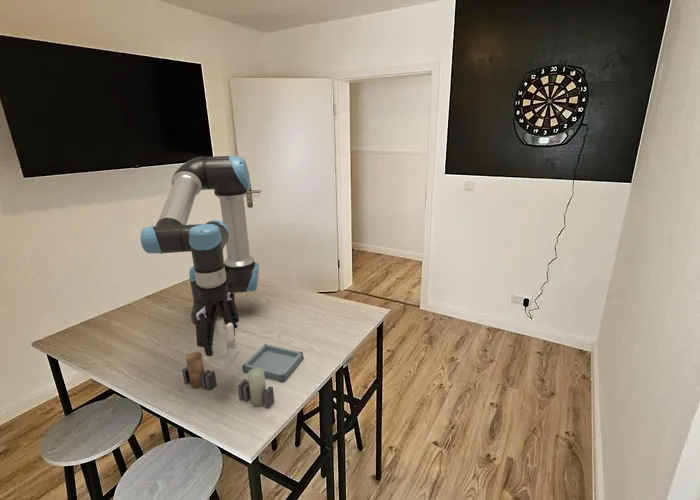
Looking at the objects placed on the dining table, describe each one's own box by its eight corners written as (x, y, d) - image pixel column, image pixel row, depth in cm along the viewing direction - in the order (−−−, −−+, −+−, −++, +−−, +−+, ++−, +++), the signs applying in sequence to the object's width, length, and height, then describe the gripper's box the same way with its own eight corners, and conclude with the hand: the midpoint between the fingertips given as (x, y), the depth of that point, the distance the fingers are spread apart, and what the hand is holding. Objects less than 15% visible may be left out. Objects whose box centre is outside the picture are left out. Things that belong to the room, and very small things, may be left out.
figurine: (220, 353, 111) (213, 309, 106) (245, 361, 107) (239, 316, 102) (202, 367, 104) (194, 321, 99) (228, 376, 101) (221, 329, 96)
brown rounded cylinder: (187, 386, 111) (182, 358, 108) (198, 377, 115) (193, 350, 112) (199, 390, 110) (194, 362, 106) (209, 380, 114) (204, 353, 110)
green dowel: (248, 404, 104) (244, 375, 100) (257, 394, 108) (253, 366, 104) (261, 408, 102) (258, 379, 99) (270, 398, 106) (267, 369, 103)
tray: (243, 371, 118) (242, 365, 117) (265, 349, 129) (265, 343, 128) (283, 382, 112) (283, 375, 112) (303, 358, 124) (303, 352, 123)
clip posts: (184, 383, 112) (181, 370, 111) (191, 377, 115) (189, 364, 113) (268, 408, 102) (267, 394, 101) (274, 401, 105) (272, 387, 103)
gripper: (195, 301, 87) (208, 380, 95) (246, 270, 105) (254, 339, 112) (171, 296, 89) (186, 373, 97) (225, 267, 107) (234, 334, 115)
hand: (222, 355), depth 105 cm, fingers closed on figurine, 7 cm apart
